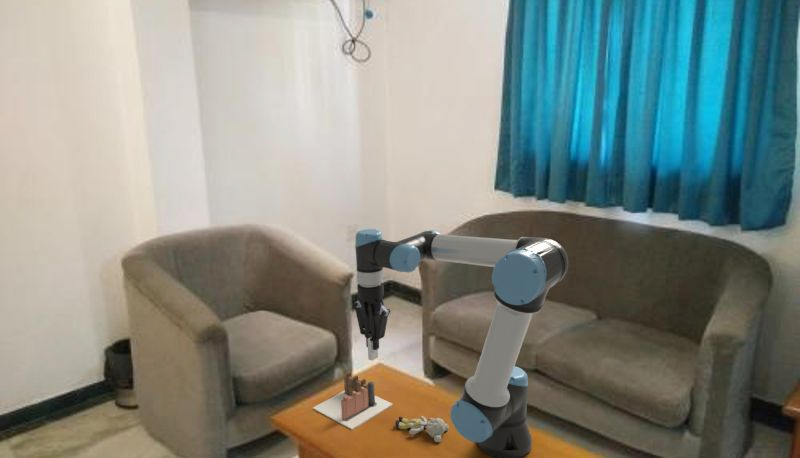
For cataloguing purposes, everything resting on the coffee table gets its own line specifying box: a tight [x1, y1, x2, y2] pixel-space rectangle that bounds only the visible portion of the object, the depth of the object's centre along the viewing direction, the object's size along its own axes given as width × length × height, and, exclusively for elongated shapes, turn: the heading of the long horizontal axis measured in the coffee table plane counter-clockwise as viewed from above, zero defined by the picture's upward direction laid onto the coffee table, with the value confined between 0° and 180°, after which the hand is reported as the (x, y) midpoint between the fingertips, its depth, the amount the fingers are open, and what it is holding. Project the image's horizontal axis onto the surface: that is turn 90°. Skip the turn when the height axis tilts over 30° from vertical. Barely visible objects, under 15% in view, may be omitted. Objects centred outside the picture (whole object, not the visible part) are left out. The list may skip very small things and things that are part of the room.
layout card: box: [312, 390, 394, 430], centre depth 188 cm, size 18×18×1 cm
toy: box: [395, 415, 450, 443], centre depth 174 cm, size 9×6×15 cm
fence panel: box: [341, 387, 368, 420], centre depth 182 cm, size 10×1×7 cm, turn 136°
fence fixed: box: [343, 372, 376, 406], centre depth 191 cm, size 13×2×8 cm, turn 48°
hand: (373, 358), depth 175 cm, fingers closed
